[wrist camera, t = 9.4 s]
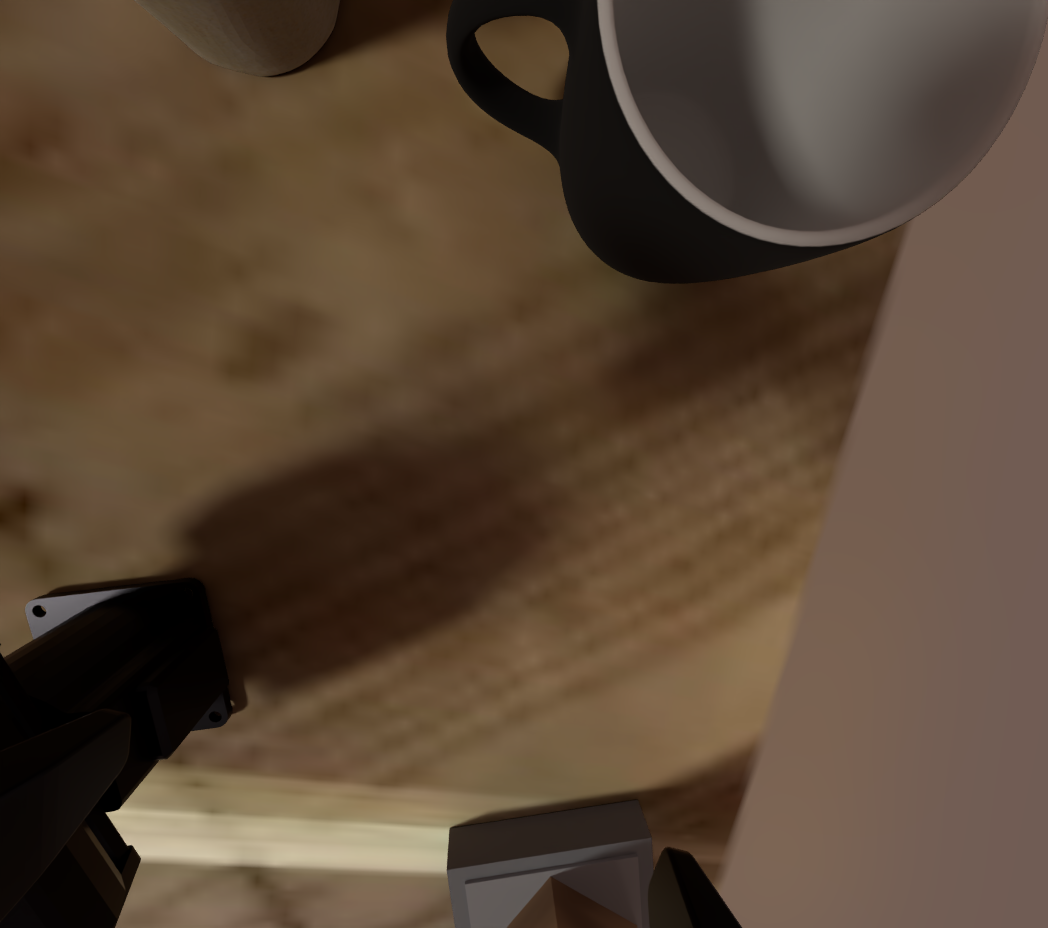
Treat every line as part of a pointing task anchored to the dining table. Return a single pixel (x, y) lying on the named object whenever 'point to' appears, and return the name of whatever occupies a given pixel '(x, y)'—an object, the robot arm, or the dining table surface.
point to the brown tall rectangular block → (565, 910)
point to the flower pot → (249, 30)
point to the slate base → (551, 863)
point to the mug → (757, 119)
